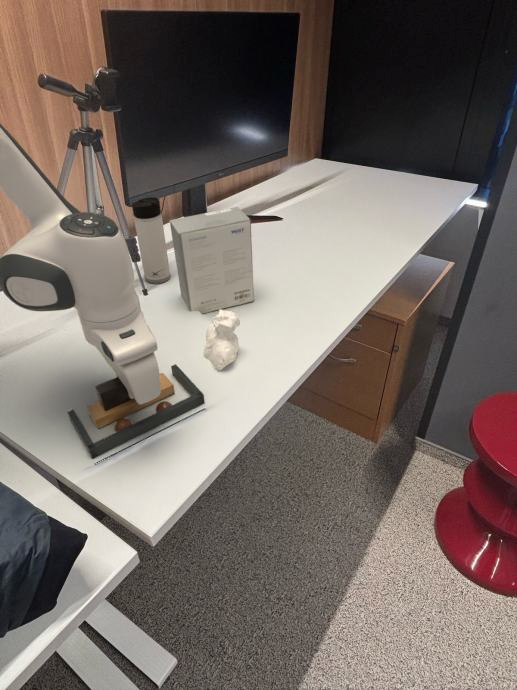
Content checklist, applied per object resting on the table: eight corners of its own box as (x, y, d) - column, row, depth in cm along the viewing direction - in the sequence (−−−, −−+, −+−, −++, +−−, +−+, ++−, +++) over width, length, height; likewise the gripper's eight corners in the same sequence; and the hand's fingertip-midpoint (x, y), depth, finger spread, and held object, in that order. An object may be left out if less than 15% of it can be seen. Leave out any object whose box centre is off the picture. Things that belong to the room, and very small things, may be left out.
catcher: (94, 464, 74) (89, 450, 72) (72, 426, 81) (67, 411, 79) (205, 409, 83) (203, 394, 81) (178, 378, 90) (175, 363, 88)
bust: (230, 385, 91) (265, 342, 87) (197, 373, 87) (231, 327, 83) (218, 348, 100) (248, 307, 96) (187, 335, 96) (217, 291, 92)
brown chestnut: (115, 426, 76) (109, 420, 78) (121, 442, 77) (115, 436, 80) (132, 418, 77) (126, 412, 80) (138, 434, 78) (132, 428, 81)
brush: (99, 433, 79) (89, 402, 74) (91, 419, 81) (80, 388, 77) (175, 397, 85) (170, 367, 81) (165, 385, 88) (159, 355, 83)
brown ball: (159, 412, 79) (151, 402, 81) (162, 425, 81) (154, 415, 83) (175, 404, 80) (166, 395, 82) (178, 417, 82) (169, 407, 84)
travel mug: (161, 286, 116) (148, 207, 104) (139, 280, 119) (124, 201, 106) (176, 275, 120) (166, 197, 108) (155, 269, 123) (143, 192, 111)
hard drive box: (242, 286, 116) (239, 206, 103) (255, 301, 110) (252, 219, 98) (180, 300, 111) (168, 218, 99) (189, 317, 105) (178, 233, 93)
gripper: (68, 298, 77) (88, 364, 86) (119, 364, 64) (137, 434, 72) (106, 286, 80) (121, 351, 89) (162, 347, 67) (174, 416, 75)
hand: (129, 389), depth 80 cm, fingers closed on brush, 2 cm apart
